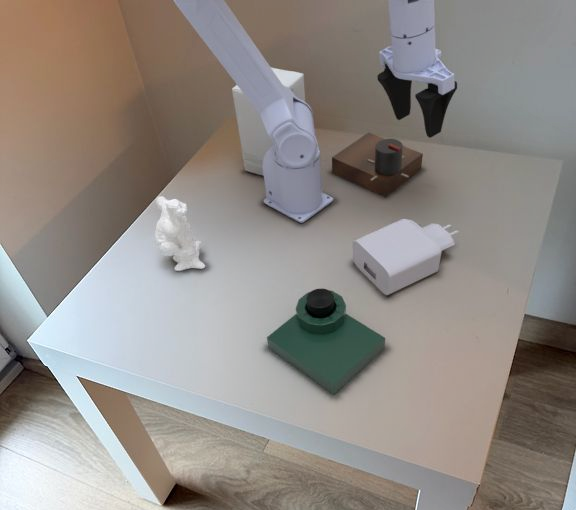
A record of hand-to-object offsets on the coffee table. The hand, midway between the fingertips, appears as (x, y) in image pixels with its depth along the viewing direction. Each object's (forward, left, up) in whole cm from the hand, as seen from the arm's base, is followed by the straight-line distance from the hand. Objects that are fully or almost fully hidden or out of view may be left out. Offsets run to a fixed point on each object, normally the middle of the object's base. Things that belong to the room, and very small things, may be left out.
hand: (418, 125), depth 82 cm
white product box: (-25, -8, -12) cm, 28 cm away
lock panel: (-7, 0, -12) cm, 14 cm away
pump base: (+12, -35, -12) cm, 39 cm away
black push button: (+9, -32, -8) cm, 35 cm away
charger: (+11, -14, -12) cm, 21 cm away
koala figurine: (-17, -36, -12) cm, 41 cm away
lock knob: (-5, -1, -8) cm, 10 cm away
